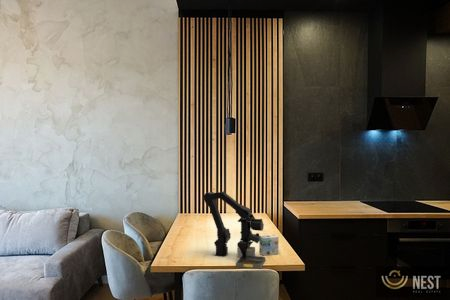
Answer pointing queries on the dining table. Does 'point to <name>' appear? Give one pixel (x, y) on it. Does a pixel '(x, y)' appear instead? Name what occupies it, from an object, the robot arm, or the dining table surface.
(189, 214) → the dining table surface
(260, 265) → the grey shallow square tray
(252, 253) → the panel
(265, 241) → the light bulb box
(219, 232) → the robot arm
